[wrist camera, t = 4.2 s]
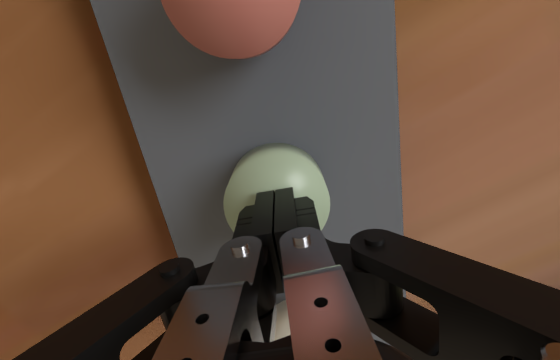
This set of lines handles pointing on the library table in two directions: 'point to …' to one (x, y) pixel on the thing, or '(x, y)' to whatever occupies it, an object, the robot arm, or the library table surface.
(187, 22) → the button brick
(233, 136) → the button panel
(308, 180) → the button sage
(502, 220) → the library table surface
